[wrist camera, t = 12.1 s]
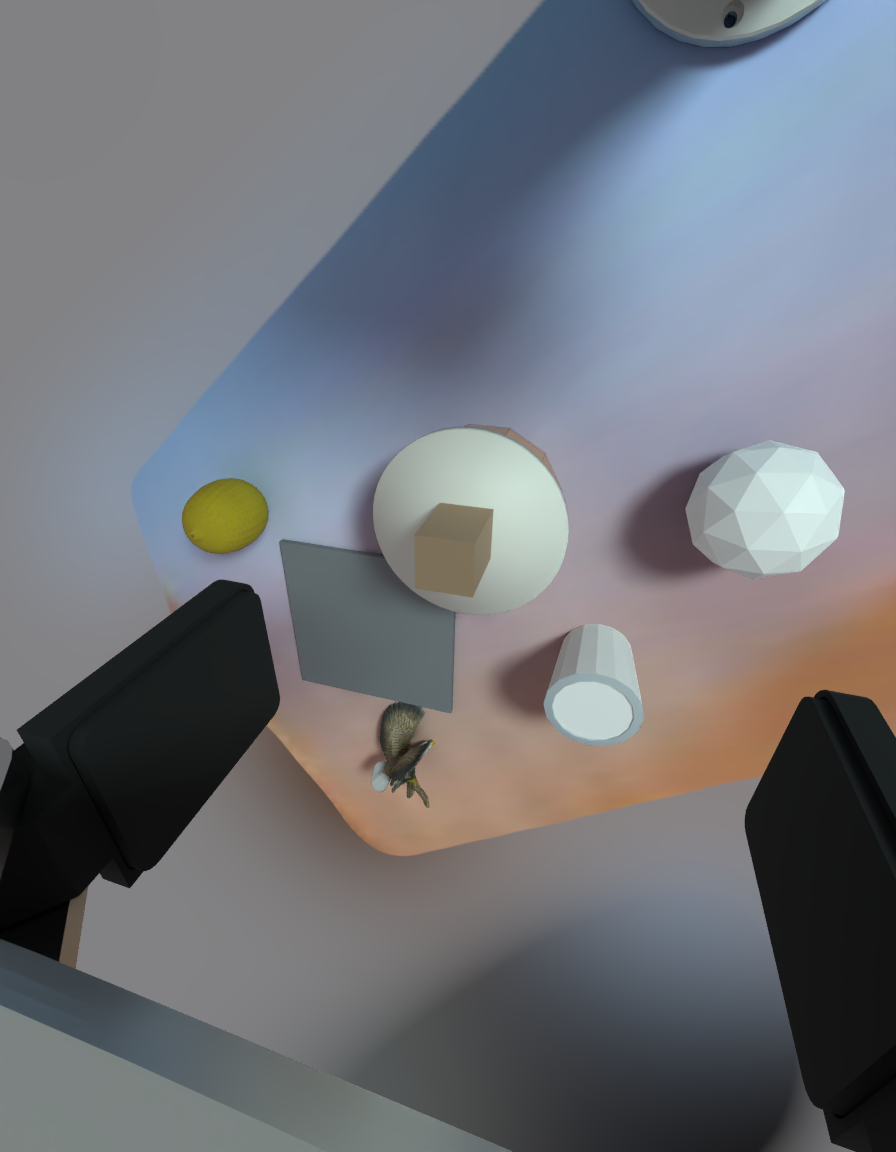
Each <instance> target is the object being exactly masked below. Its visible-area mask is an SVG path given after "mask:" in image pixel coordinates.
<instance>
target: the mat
mask: <svg viewBox="0 0 896 1152" xmlns="http://www.w3.org/2000/svg"><path fill="white" fill-rule="evenodd" d="M280 547H281V553H282V559H283V565H284V571H285V577H286V583H287V589H288V595H289V601H290V607H291V613H292V619H293V625H294V631H295V637H296V643H297V649H298V655H299V661H300V667H301V673H302V679H303V680H306V681H310V682H315V683H319V684H323V685H328V686H332V687H337V688H341V689H346V690H350V691H354V692H359V693H363V694H368V695H372V696H376V697H381V698H385V699H390V700H394V701H399V702H403V703H407V704H412V705H416V706H421V707H425V708H430V709H434V710H438V711H443V712H447V713H451V712H452V702H453V670H454V638H455V611H451V610H448V609H445V608H442V607H439V606H437V605H435V604H433V603H431V602H429V601H427V600H426V599H424V598H422V597H421V596H419V595H418V594H416V593H415V592H414V591H412V590H411V589H410V588H409V587H408V586H407V585H406V584H405V583H403V582H402V581H401V579H400V578H399V577H398V576H397V575H396V574H395V573H394V571H393V570H392V568H391V567H390V565H389V564H388V563H387V561H386V559H385V557H384V555H379V554H373V553H366V552H360V551H353V550H347V549H341V548H334V547H328V546H322V545H315V544H309V543H302V542H296V541H290V540H281V541H280Z"/></svg>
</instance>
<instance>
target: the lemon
mask: <svg viewBox="0 0 896 1152" xmlns="http://www.w3.org/2000/svg"><path fill="white" fill-rule="evenodd" d="M267 521H268V506H267V503H266V500H265V498H264V496H263V495H262V493H261V492H260V491H259V490H258V489H257V488H256V487H254V486H253V485H252V484H250V483H248V482H246V481H243V480H239V479H233V478H229V479H220V480H216V481H213V482H211V483H209V484H207V485H205V486H203V487H202V488H200V489H199V490H198V491H197V492H196V493H195V494H194V495H193V496H192V497H191V498H190V499H189V500H188V501H187V503H186V505H185V507H184V510H183V513H182V524H183V528H184V531H185V533H186V535H187V537H188V538H189V539H190V541H191V542H192V543H193V544H195V545H196V546H197V547H199V548H200V549H202V550H205V551H207V552H210V553H218V554H224V553H229V552H234V551H237V550H240V549H242V548H244V547H246V546H247V545H249V544H250V543H252V542H253V541H255V540H256V539H257V538H258V537H259V535H260V534H261V533H262V532H263V530H264V529H265V526H266V524H267Z"/></svg>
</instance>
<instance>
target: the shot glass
mask: <svg viewBox="0 0 896 1152" xmlns="http://www.w3.org/2000/svg"><path fill="white" fill-rule="evenodd" d="M544 709H545V713H546V718H547V719H548V720H549V722H550V723H551V724H552V725H553V727H554V728H555V729H556V730H557V731H558V732H560V733H561V734H563V735H564V736H566V737H567V738H569V739H570V740H573V741H576V742H579V743H583V744H586V745H591V746H609V745H613V744H617V743H620V742H624V741H626V740H627V739H629V738H630V737H631V736H633V735H634V734H635V733H637V732H638V730H639V728H640V726H641V723H642V721H643V719H644V716H643V708H642V701H641V696H640V691H639V686H638V681H637V675H636V670H635V665H634V660H633V655H632V650H631V645H630V644H629V642H628V641H627V639H626V638H625V636H624V635H623V634H621V633H620V632H618V631H617V630H615V629H614V628H612V627H608V626H604V625H601V624H588V625H582V626H580V627H578V628H575V629H573V630H571V631H570V632H569V633H568V635H567V636H566V637H565V638H564V640H563V643H562V646H561V649H560V652H559V656H558V659H557V662H556V665H555V668H554V672H553V675H552V678H551V681H550V684H549V687H548V691H547V694H546V697H545V700H544Z"/></svg>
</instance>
